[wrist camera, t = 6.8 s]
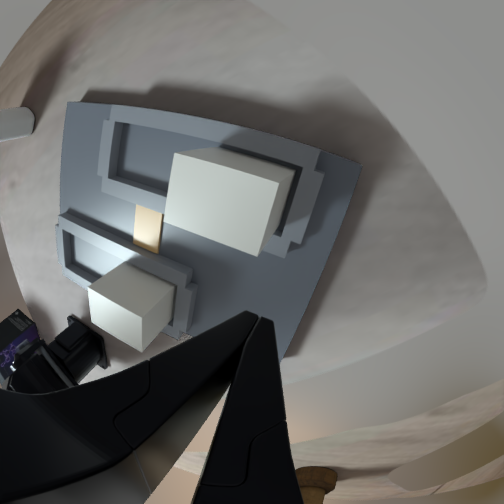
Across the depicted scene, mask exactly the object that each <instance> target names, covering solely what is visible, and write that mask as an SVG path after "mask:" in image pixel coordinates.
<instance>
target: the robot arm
mask: <svg viewBox="0 0 504 504" xmlns="http://www.w3.org/2000/svg"><path fill="white" fill-rule="evenodd" d="M67 320H68V325H69V326H68V327H67V328H66V329H65V330H64V331H62V332H61V333H60V334H59V335H58V336H56V337H55V340H54V341H52V342H51V343H50V344H49V345H48V346H47V344H46V343H45V341H44V339H42V340H40V339H39V338H38V337H36V338H35V339H34V340H33V341H31V342H30V343H29V344H28V345H26V346H25V347H24V348H22V349H21V350H20V351H18V352H17V353H16V354H15V355H14V361H13V362H12V363H13V364H12V365H11V366H10V368H11V369H12V371H13V373H12V374H11V375H10V376H9V377H8V378H7V379H6V380H5V381H4V382H3V384H2V389H0V504H144V503H145V501H146V500H147V499H148V498H149V496H150V494H152V492H153V491H154V490H155V489H156V487H157V486H158V485H159V484H160V482H161V481H162V480H163V478H164V477H165V476H166V474H167V473H168V472H169V471H170V469H171V468H172V467H173V465H174V464H175V463H176V461H177V460H178V458H179V457H180V456H181V454H182V453H183V452H184V450H185V449H186V448H187V446H188V445H189V443H190V442H191V441H192V439H193V438H194V436H195V435H196V434H197V432H198V431H199V429H200V428H201V426H202V425H203V424H204V422H205V421H206V420H207V418H208V417H209V415H210V414H211V412H212V411H213V409H214V408H215V407H216V405H217V404H218V402H219V401H220V399H221V398H222V396H223V395H224V393H225V392H226V390H227V389H228V387H229V385H230V384H231V385H230V388H229V391H228V394H227V397H226V400H225V403H224V406H223V409H222V412H221V415H220V419H219V421H218V425H217V427H216V431H215V434H214V437H213V440H212V443H211V446H210V449H209V452H208V455H207V457H206V460H205V463H204V466H203V469H202V472H201V475H200V478H199V481H198V484H197V487H196V490H195V493H194V495H193V498H192V501H191V504H304V501H303V497H302V494H301V490H300V486H299V483H298V479H297V476H296V472H295V467H294V463H293V459H292V455H291V449H290V442H289V436H288V429H287V422H286V421H285V420H286V413H285V404H284V396H283V388H282V380H281V372H280V364H279V356H278V348H277V341H276V333H275V325H274V321H273V320H270V319H268V318H265V317H263V316H260V317H259V316H258V315H257V314H255V313H252V312H250V311H247V310H245V311H242V312H241V313H239V314H237V315H235V316H233V317H231V318H229V319H227V320H225V321H224V322H222V323H220V324H218V325H216V326H214V327H212V328H210V329H208V330H206V331H204V332H202V333H200V334H198V335H196V336H194V337H193V338H191V339H189V340H187V341H185V342H183V343H181V344H179V345H177V346H175V347H172V348H170V349H168V350H166V351H164V352H162V353H160V354H158V355H156V356H154V357H152V358H150V359H149V360H145V361H143V362H141V363H139V364H137V365H135V366H132V367H130V368H128V369H125V370H123V371H121V372H118V373H115V374H113V375H110V376H107V377H104V378H101V379H98V380H94V381H91V382H88V383H84V384H81V385H79V384H78V383H79V382H80V381H81V380H82V379H83V378H84V377H85V376H86V375H87V374H88V373H89V372H90V371H91V370H92V369H93V368H94V367H95V366H96V365H99V366H100V367H102V368H103V369H107V367H108V366H107V360H106V354H105V348H104V341H103V338H102V337H101V336H100V335H98V334H96V333H95V332H93V331H92V330H90V329H89V328H87V327H86V326H84V325H83V324H82V323H80V322H79V321H77V320H76V319H74V318H73V317H72V316H68V317H67ZM35 351H36V352H37V353H34V352H35Z"/></svg>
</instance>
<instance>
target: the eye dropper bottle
mask: <svg viewBox="0 0 504 504" xmlns="http://www.w3.org/2000/svg"><path fill="white" fill-rule="evenodd" d="M34 119H35V118H34V115H33V113H32V112H31V110H30V109H28V108H27V107H16V108H8V109H1V110H0V142H2V141H6V140H11V139H16V138H21V137H26V136H29V135H31V134H32V131H33V126H34Z"/></svg>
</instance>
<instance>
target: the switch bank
mask: <svg viewBox="0 0 504 504" xmlns="http://www.w3.org/2000/svg"><path fill="white" fill-rule="evenodd" d="M210 147H221V148H225V149H228V150H232V151H236V152H239V153H243V154H246V155H250V156H253V157H257V158H260V159H263V160H267V161H270V162H273V163H276V164H280V165H283V166H286V167H289V168H292V169H295V170H296V173H295V176H294V180H293V183H292V186H291V189H290V193H289V196H288V199H287V202H286V205H285V209H284V212H283V215H282V218H281V222H280V225H279V226H278V227H277V229H276V230H275V232H274V233H273V235H272V236H271V238H270V239H269V241H268V242H267V243H266V245H265V246H264V248H263V249H262V251H261V252H260V254H259V255H258V257H256V256H254V255H251V254H248V253H246V252H243V251H240V250H238V249H235V248H232V247H230V246H227V245H224V244H222V243H219V242H216V241H214V240H211V239H208V238H206V237H203V236H200V235H198V234H195V233H192V232H190V231H187V230H184V229H182V228H179V227H176V226H174V225H171V224H168V223H166V222H163V221H164V213H165V206H166V199H167V193H168V187H169V180H170V174H171V169H172V163H173V158H174V153H176V152H182V151H189V150H196V149H203V148H210ZM361 169H362V165H361V164H360V163H357V162H354V161H352V160H349V159H346V158H344V157H341V156H338V155H335V154H333V153H330V152H327V151H324V150H321V149H319V148H316V147H313V146H310V145H307V144H304V143H301V142H297V141H294V140H291V139H287V138H284V137H281V136H277V135H274V134H270V133H267V132H263V131H259V130H255V129H251V128H248V127H244V126H240V125H235V124H231V123H227V122H222V121H218V120H213V119H209V118H204V117H199V116H194V115H188V114H183V113H177V112H171V111H165V110H159V109H152V108H145V107H137V106H129V105H117V104H107V103H94V102H67V109H66V116H65V123H64V132H63V142H62V154H61V172H60V215H58V222H59V224H57V225H55V228H56V243H57V254H58V263H59V264H61V265H62V272H63V275H64V276H66V277H67V278H69V279H70V280H72V281H73V282H75V283H76V284H78V285H80V286H81V287H83V288H84V289H86V290H88V286H89V285H91V284H92V283H94V282H95V281H97V280H98V279H99V278H101V277H102V276H104V275H105V274H107V273H108V272H110V271H111V270H113V269H114V268H115V267H117V266H118V265H120V264H121V263H123V262H124V261H126V262H128V263H131V264H133V265H135V266H137V267H139V268H141V269H143V270H145V271H147V272H150V273H152V274H154V275H156V276H158V277H160V278H163V279H165V280H167V281H169V282H171V283H174V284H176V285H178V287H177V295H176V303H175V311H174V317H173V318H172V319H171V321H170V322H169V323H168V324H167V325H166V326H165V327H164V328H163V330H162V331H161V332H163V333H165V334H167V335H169V336H171V337H173V338H175V339H177V340H178V339H179V338H180V337H181V335H182V334H183V332H184V333H186V334H188V335H190V336H192V337H194V336H196V335H198V334H200V333H202V332H204V331H206V330H208V329H210V328H212V327H214V326H216V325H218V324H220V323H222V322H224V321H225V320H227V319H229V318H231V317H233V316H235V315H237V314H239V313H241V312H242V311H245V310H247V311H250V312H252V313H255V314H257V315H258V316H259V317H260V316H263V317H265V318H268V319H270V320H273V321H274V325H275V333H276V341H277V348H278V356H279V364H280V362H281V360H282V358H283V356H284V354H285V352H286V350H287V348H288V346H289V344H290V342H291V340H292V338H293V336H294V334H295V331H296V329H297V327H298V325H299V323H300V321H301V319H302V316H303V314H304V312H305V310H306V308H307V306H308V303H309V301H310V299H311V297H312V294H313V292H314V290H315V287H316V285H317V283H318V281H319V278H320V276H321V274H322V271H323V269H324V266H325V264H326V262H327V259H328V257H329V254H330V252H331V249H332V247H333V244H334V242H335V239H336V237H337V234H338V232H339V229H340V227H341V224H342V221H343V219H344V216H345V214H346V211H347V208H348V206H349V203H350V200H351V197H352V195H353V192H354V189H355V186H356V183H357V181H358V178H359V175H360V172H361Z"/></svg>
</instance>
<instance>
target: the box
mask: <svg viewBox="0 0 504 504" xmlns="http://www.w3.org/2000/svg"><path fill="white" fill-rule="evenodd" d="M36 337H38V338H39V339H40V337H39V334H38V331H37V328H36V325H35V323H34V322H33V321H32V320H31V319H29V318H28V317H27V316H26V315H24V313H23V312H21V311H20V310H19V309H17V310H16V311H15V312H13V313H12V314H11V315H10V316H8V317H7V318H6V319H4V320H3V321H2V322H1V323H0V383H1V385H2V384H3V382H4V381H5V380H6V379H7V378H8V377H9V376H10V375H11V374H12V373H13V371H12V369H11V368H10V366H11V365H12V364H13V363H12V362H13V361H14V355H15V354H16V353H17V352H18V351H20V350H21V349H22V348H24V347H25V346H26V345H28V344H29V343H30V342H31V341H33V340H34V339H35V338H36ZM34 353H37V352H36V351H35V352H34Z"/></svg>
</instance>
